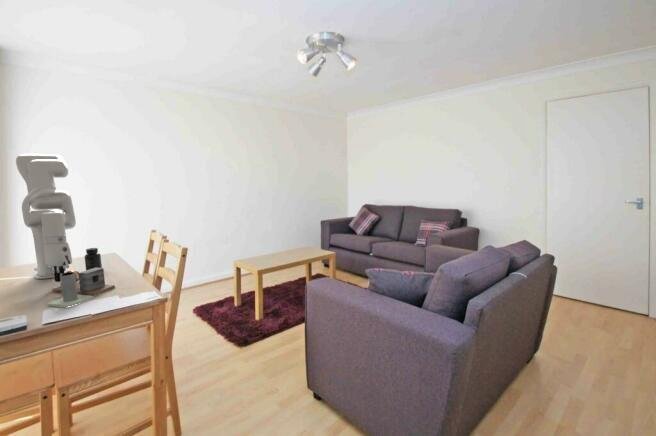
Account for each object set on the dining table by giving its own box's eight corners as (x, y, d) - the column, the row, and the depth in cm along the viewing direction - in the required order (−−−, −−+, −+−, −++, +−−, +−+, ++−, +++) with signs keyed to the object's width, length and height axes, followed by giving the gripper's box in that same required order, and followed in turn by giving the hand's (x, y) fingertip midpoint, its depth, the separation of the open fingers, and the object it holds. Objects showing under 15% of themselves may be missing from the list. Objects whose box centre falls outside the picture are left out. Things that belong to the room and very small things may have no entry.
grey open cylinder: (67, 297, 131) (64, 272, 129) (80, 296, 131) (77, 271, 130) (60, 301, 126) (56, 276, 125) (73, 301, 127) (70, 275, 125)
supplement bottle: (105, 270, 171) (103, 247, 170) (92, 274, 165) (89, 250, 163) (96, 269, 173) (93, 246, 172) (82, 272, 167) (80, 249, 165)
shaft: (64, 283, 141) (62, 272, 140) (75, 280, 146) (74, 269, 145) (85, 285, 138) (84, 274, 138) (96, 282, 143) (95, 270, 142)
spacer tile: (47, 305, 125) (47, 303, 125) (73, 296, 135) (73, 293, 134) (68, 308, 123) (67, 305, 122) (93, 298, 132) (92, 295, 132)
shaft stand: (52, 291, 140) (49, 271, 139) (75, 284, 149) (73, 265, 148) (93, 296, 135) (91, 274, 133) (114, 287, 144) (112, 268, 143)
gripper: (77, 238, 144) (81, 279, 146) (51, 237, 148) (55, 277, 150) (59, 242, 137) (64, 284, 139) (32, 241, 140) (38, 282, 143)
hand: (60, 280), depth 145 cm, fingers closed
